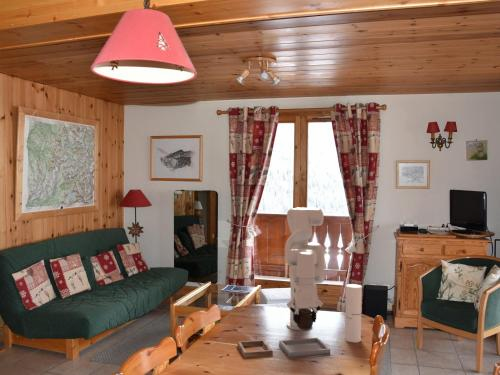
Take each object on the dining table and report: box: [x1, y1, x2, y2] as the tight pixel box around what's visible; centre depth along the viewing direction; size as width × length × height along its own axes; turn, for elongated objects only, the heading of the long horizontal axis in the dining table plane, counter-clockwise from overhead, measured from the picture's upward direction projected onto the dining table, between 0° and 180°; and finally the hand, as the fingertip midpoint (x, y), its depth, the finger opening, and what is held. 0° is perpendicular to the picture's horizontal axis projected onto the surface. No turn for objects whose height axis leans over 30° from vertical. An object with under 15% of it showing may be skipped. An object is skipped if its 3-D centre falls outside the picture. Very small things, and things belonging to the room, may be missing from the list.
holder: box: [237, 339, 273, 359], centre depth 193 cm, size 13×12×2 cm
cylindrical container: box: [344, 283, 363, 343], centre depth 208 cm, size 7×7×25 cm
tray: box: [278, 337, 331, 359], centre depth 194 cm, size 14×18×2 cm
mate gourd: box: [297, 308, 314, 331], centre depth 194 cm, size 7×8×10 cm
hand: (304, 321), depth 194 cm, fingers closed on mate gourd, 7 cm apart
